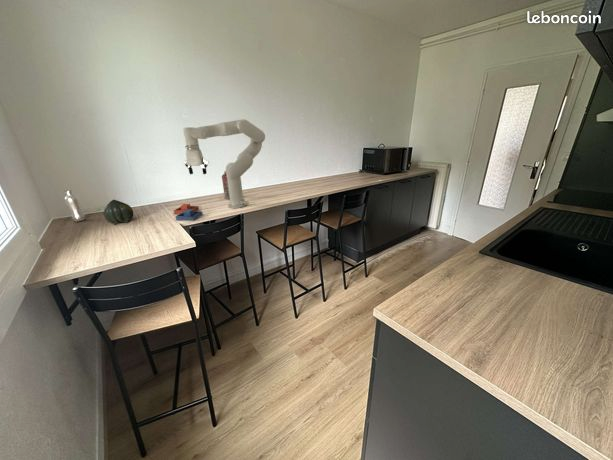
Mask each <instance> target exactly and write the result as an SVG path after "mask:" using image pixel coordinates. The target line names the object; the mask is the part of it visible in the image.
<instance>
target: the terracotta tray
mask: <svg viewBox="0 0 613 460" xmlns="http://www.w3.org/2000/svg"><path fill="white" fill-rule="evenodd" d="M190 206H191V209H193V211H200V206H199V205H190ZM183 211H184V210H181V206H179V207H178V208H175V209H173V214H174V215H179V214H181V213H183Z"/></svg>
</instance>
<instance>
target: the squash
mask: <svg viewBox="0 0 613 460" xmlns="http://www.w3.org/2000/svg"><path fill="white" fill-rule="evenodd" d="M104 207H105V208H104V210H103V216H104V218H105V220H106V221H107V222H108V223H110V224H111V225H117V224H120V223H130V221H131V220H132V219H133V218H134V210H133V208H132V206H131V205H129V204H127V203H125V202H123V201H119V200H117V199H112V200H110V201H109V202H108V204H106V205H105V206H104Z"/></svg>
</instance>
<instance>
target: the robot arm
mask: <svg viewBox="0 0 613 460" xmlns="http://www.w3.org/2000/svg"><path fill="white" fill-rule="evenodd" d="M240 134H244V135H245V136H246V137H248V138H249V139H250V142H249V144H248V145H247V147H246V148H244V150H242V151H241V152H240V153H239V154H238V155H237V157H236V160H235V161H234V162H229V163H227V165H226V166H225V171H226V175H227V181H228V188H229V195H230V200H229V201H230V203H229V204H228V207H229V208H231V209H239V208H244V207H245V206H247V205H249V203H250V201H248V200H245V198H244V193H243V185H242V178H241V177H242V176H243V175H244V174H245V173H246V172H247V171H248V170H249V169H250V168H251V167H252V166H253V164H254V159H255V158H256V157H257V156H258V154H259V153H260V152H261V151H262V148H263V147H262V146H263V143H264V141H265V139H266V134H265V132H264V131H263V130H262V129H260V128H259V127H258V126H256V125H254V124H253V123H252V122H250V121H249V120H247V119H236V120H230V121H223V122H218V123H216V124H210V125H204V126H198V127H184V128H183V136H184V141H185V146H184V148H185V160H184V161H183V162H182V163H183V165H184V166H185V167H186V168H187V170H188V174H189V175H193V174H194V169H193V167H201V168H202V169H201V170H202V175H207V168H208V166H209V160H207V159H204V155H203V153H202V150H201V149H200V143H199V140H207V139H209V138H214V137H215V138H216V137H228V136H233V135H240Z"/></svg>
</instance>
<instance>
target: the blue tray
mask: <svg viewBox="0 0 613 460" xmlns="http://www.w3.org/2000/svg"><path fill="white" fill-rule="evenodd" d="M203 215H204V214H203V211H200V210H197V211H194V216H193V217H186V216H184V213H181V214H176V215H175V220H176V221H189V222H190V221H193V222H194V221H196V220H197V219H199V218H201V217H202V216H203Z"/></svg>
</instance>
